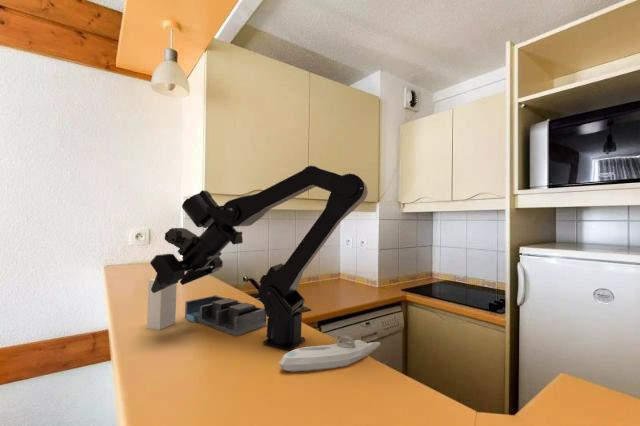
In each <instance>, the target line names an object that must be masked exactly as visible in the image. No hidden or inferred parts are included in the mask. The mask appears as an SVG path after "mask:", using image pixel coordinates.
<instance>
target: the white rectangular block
mask: <svg viewBox="0 0 640 426" xmlns="http://www.w3.org/2000/svg"><path fill="white" fill-rule="evenodd" d="M154 280H155V278H151V279H148V286H147V287H148V288H147V289H148V290H147V291H148V292H147V314H146V317H147V318H146V329H149V330H157V331H161V330H163V329H165V328H167V327H170V326H172V325H174V324H176V314H177V313H176V311H177V309H176V308H177V290H178V289H177V288H178V287H177V285H178V283H176V284H174V285H171V286H169V287H167V288H165V289H163V290H160V291H158V292H156V293H153V292H152V291H151V288H152V286H153V283H154Z"/></svg>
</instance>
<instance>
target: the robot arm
mask: <svg viewBox="0 0 640 426" xmlns="http://www.w3.org/2000/svg"><path fill="white" fill-rule="evenodd" d="M314 188H319V189H322V190H325V191H328V192H329V196H328V199H327V202H326V205H325V208H324V209H323V211H322V212H321V214H320V215H319V217H318V218H317V219H316V220H315V222H314V224H312V226H311V227H310V229H309V231H308V232H307V233H306V234H305V236H304V237H303V238H302V239H301V241H300V243H299V244H298V245H297V246H296V248H295V249H294V251H293V252H292V253H291V255H290V256H289V258H288V259H287V261H286V262H285V263H284V264H283V263H279V264H276V265H273V266H270V268H269V269H268V271H267V273H266V275H265V276H264V278H263V279H261V280H260V281H259V284H260V286H259V288H258V291H257V293H258V298H259V300H260V302H261V303H262V305H263V308H265V311H266V314H267V315H266V339H264V340H263V345H268V346H270V347H275V348H278V349H282V350H286V351H290V350H292V349H294V348H295V347H297V346H298V345H300V344H301V343H303V342H305V340H306V337H305V336H302V321H303V320H302V318H303V316H302V314H303V313H302V312H300V310H302V308H303V307H304V304H305V302H306V301H305V298H304V297H303V296H302V294H300V292H299V291H298V290H297V288H298V286H299V285H300V283H301V280H302V276H303V273H304V271H305V270H306V269H307V268H308V266H309V265H310V263H311V262H312V261H313V260H314V258H315V257H316V256H317V255H318V252H319V251H320V250H321V249H322V247H323V246H324V245H325V243H326V242H327V241H328V239H329V238H330V237H331V235H332V234H333V233H334V232H335V230H336V229H337V227H338V226H339V225H340V223H341V222H342V221H343V220H344V219H345V218H346V217H348V216H349V215H350V214H351V213H352V212H354V211H355V210H356V209H357V208H358V207H359V206H360V205H361V204H363V202H364V201H365V200H366V199H367V197H368V194H369V191H368V187H367V184H366V183H365V182H364V180H363V179H362V178H361V177H360V176H359V175H357V174H354V173H345V174H342V175H341V174H339V173H335V172H333V171H329V170H326V169H322V168H320V167H317V166H316V165H308V166H306V167H305V168H303V170H300V171H298V172H296V173H294V174H293V175H291V176H289V177H287V178H285V179H283V180H281V181H279V182H276V183H275V184H274V185H271V186H269V187H267V188H265V189H264V190H261V191H259V192H258V193H253V194H248V195H244V196H243V195H242V196H240V197H236V198H234V199H233V198H232V199H229V200H228V201H226V202H225V203H224V204H223V205H219V204H218V203H217V202H216V200H215V199H214V198H213V196H212V194H210V192H209V191H208V190H203V189H202V190H201V191H199V193H197V194H194V195H192V196H190V197H188V198H186V199H185V200H184V201H183V202H182V205H181V208H182V210H183V211H184V212H185V214H187V216H188V217H189V219H190V220H191V221H192V222H193V224H194V225H195V226H196V227H197V228H204V229H205V230H204V231H203V232H202V233H201V234H200V235H199V236H198V235H197V234H195V233H194V232H192V231H190V230H189V229H187V228H185V227H171V228H170V229H168V231H166V232H165V233H164V241H166V242H167V243H168V244H170V245H173V246H174V247H176V248H178V250H177V253H178V254H179V255H180V256H182V257H181V259H182V260H179V259H178V258H177V257H176V255H175V254H174V253H163V254H157V255H155V256H153V258H152V259H151V261H150V263H149V264H150V265H151V267H152V268H153V269H154V271H155V272H156V276H155V278H154V279H155V280H154V283H153V286H152V288H151V291H152V292H153V293H156V292H158V291H160V290H163V289H165V288H167V287H169V286H171V285H174V284H176V283H177V284H178V283H179V282H180V285H182V286H184V285H186V284H190V283H192V282H194V281H196V280H198V279H202V278H204V277H207V276H209V275H212V274H214V273H216V272H218V271H219V270H221V268H223V263H224V261H223V259H221V255H222V251H223V250H224V249H225V248H226V246H228V245H229V244H230V243H231V244H232V245H239V244H243V242H244V241H243V239H244V238H243V232H242V231H237V230H236V228H235V227H250V226H252V225H253V224H255V223H256V222H257V221H259V220H260V219H262V218H263V217H264V216H265V214H266V213H268V212H269V211H270V210H271V209H274V208H275V207H278V206H280V205H281V204H283V203H285V202H288V201H290V200H291V199H294V198H296V197H298V196H300V195H302V194H303V193H306V192H308V191H310V190H312V189H314ZM185 272H186V273H185Z"/></svg>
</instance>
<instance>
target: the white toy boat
mask: <svg viewBox="0 0 640 426" xmlns="http://www.w3.org/2000/svg"><path fill="white" fill-rule="evenodd" d="M343 339H346V340H348V341H343ZM380 345H381V342H379V341H376V342H368V343H367V342H365V341H363V340H361V339H356V340H355V339H353V338H352V336H350V335H342V336H341V337H340V338H339V339H338V341H337V343H333V344H323V345H322V344H321V345H315V346H313V345H311V346H303V347H299V348H295V349H293V350H292V349H291V351H290V350H289V352H286V353H284V354H283V356H282V357H281V359H280V361H279V362H278V365H279V366H280V368H281V369H282V370H284V371H287V372H291V373H295V372H296V373H298V372H307V371H308V372H309V371H310V372H311V371H322V370H331V369H336V368H338V369H339V368H344V367H347V366H349V365H351V364H353V363H355V362H358V361H359V360H361V359H364V358H366V357H367V356H368V355H370V354H371V353H373V352H374V351H375V350H377V348H379V346H380Z"/></svg>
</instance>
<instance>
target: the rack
mask: <svg viewBox="0 0 640 426" xmlns="http://www.w3.org/2000/svg"><path fill="white" fill-rule="evenodd" d="M184 307H185V309H184V310H185V311H184V318H186V320H187V321H190V322H191V323H198V324H202V325H205V326H208V327H210V328H212V329H216V330H218V331H221V332H223V333H226V334H228V335H230V336H231V335H232V336H234V337H238V336H241V335H243V334H246V333H250V332H253V331H256V330H258V329H261V328H264V327H267V314H266V311H265V308H264V307H260V306H256V305H255V304H252V303H249V302H242V301H239V300H238V299H234V298H231V297H228V298H227V297H223V296H219V295H216V294H214V295H211V296H205V297H200V298H196V299H191V300H185V306H184Z"/></svg>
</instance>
